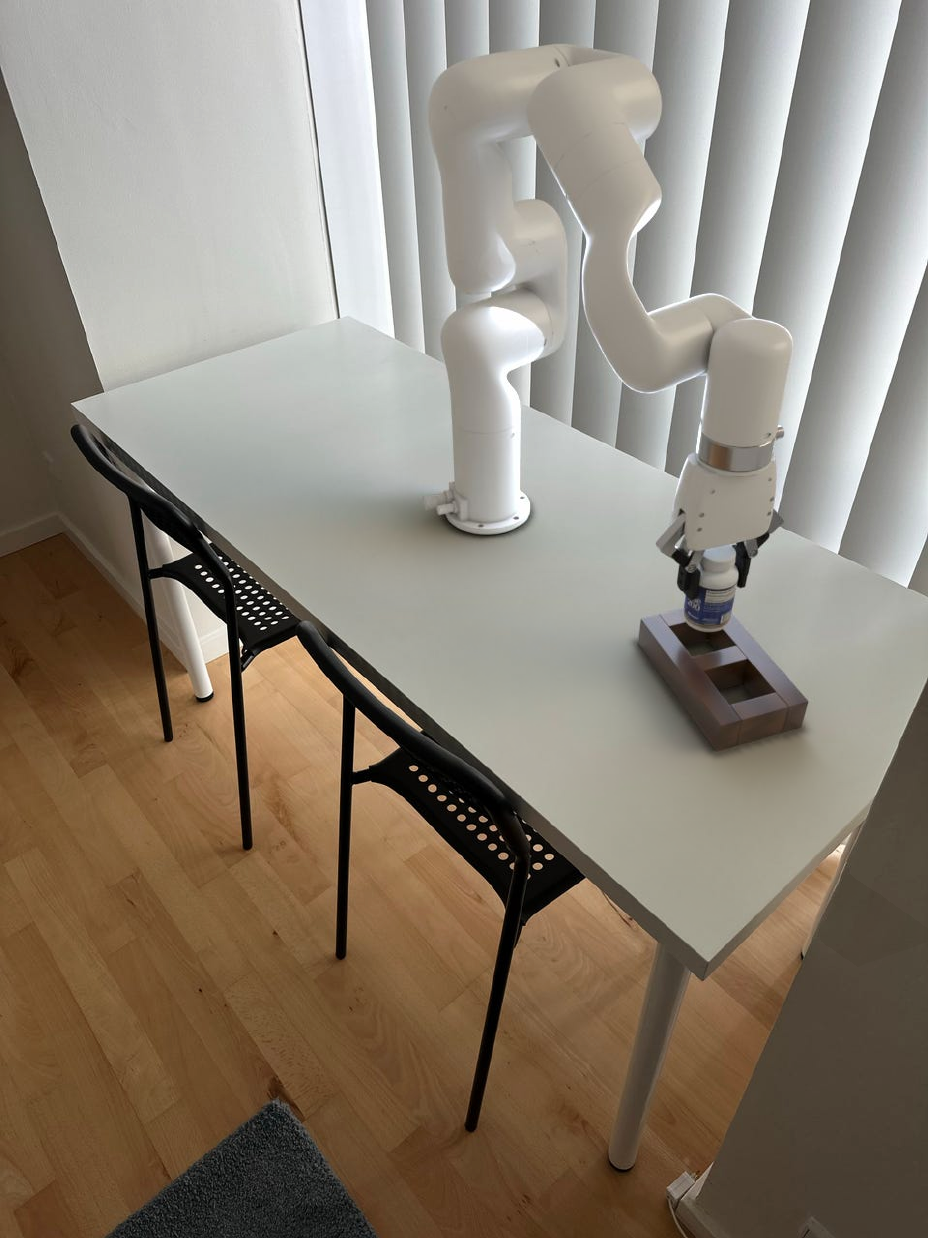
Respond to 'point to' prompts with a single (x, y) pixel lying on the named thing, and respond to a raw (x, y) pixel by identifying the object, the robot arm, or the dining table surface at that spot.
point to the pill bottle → (713, 591)
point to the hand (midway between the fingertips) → (711, 585)
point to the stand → (722, 680)
